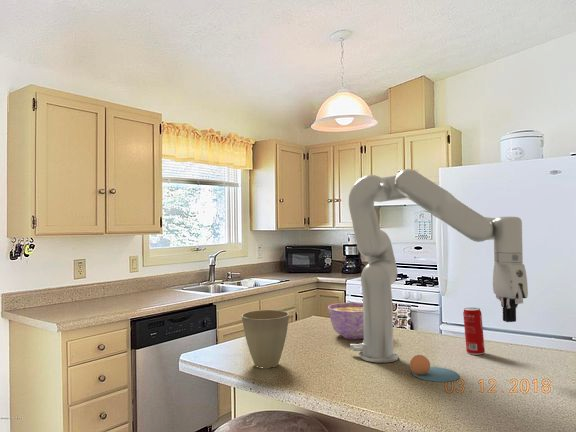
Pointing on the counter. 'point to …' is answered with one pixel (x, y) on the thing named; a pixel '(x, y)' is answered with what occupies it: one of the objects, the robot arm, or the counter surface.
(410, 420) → the counter surface
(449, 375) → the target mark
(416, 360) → the ball
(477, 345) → the beverage can
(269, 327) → the plant pot
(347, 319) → the bowl of food
